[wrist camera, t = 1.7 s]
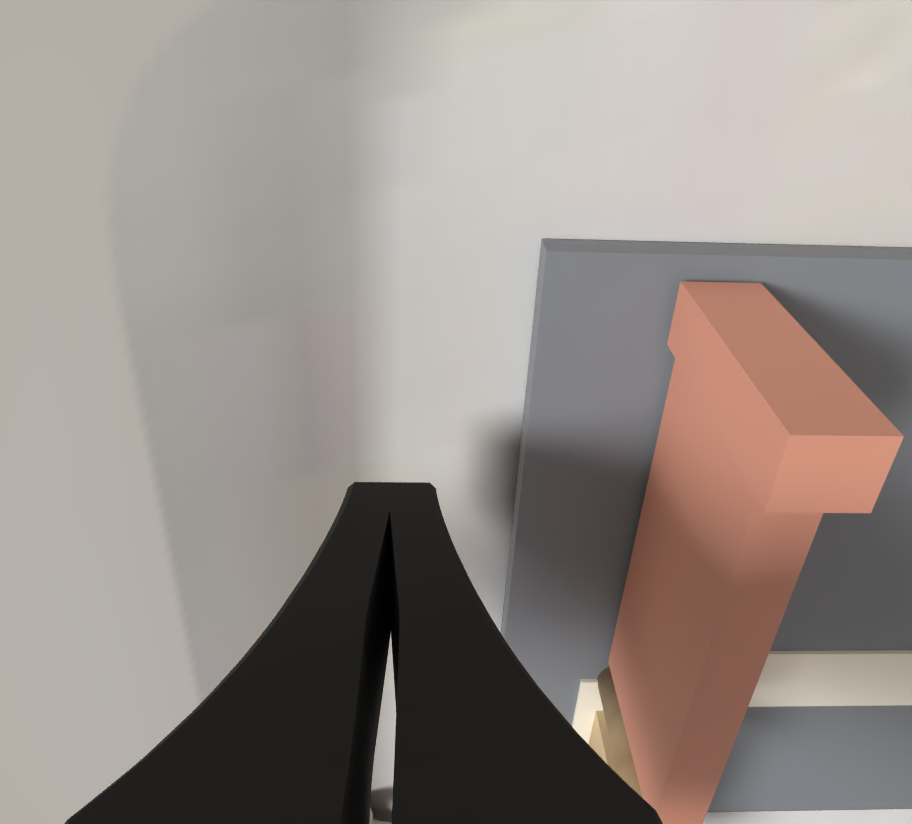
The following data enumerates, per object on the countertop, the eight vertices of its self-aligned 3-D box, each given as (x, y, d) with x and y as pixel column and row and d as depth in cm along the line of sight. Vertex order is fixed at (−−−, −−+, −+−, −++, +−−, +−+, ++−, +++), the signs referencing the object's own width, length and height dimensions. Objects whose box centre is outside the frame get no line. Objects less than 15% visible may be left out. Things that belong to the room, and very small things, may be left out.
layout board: (943, 789, 23) (956, 811, 23) (484, 795, 22) (485, 819, 22) (1297, 257, 14) (1336, 272, 13) (542, 238, 13) (547, 253, 13)
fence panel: (657, 661, 18) (721, 860, 14) (600, 661, 18) (647, 861, 14) (760, 282, 13) (903, 436, 9) (680, 281, 13) (790, 435, 9)
